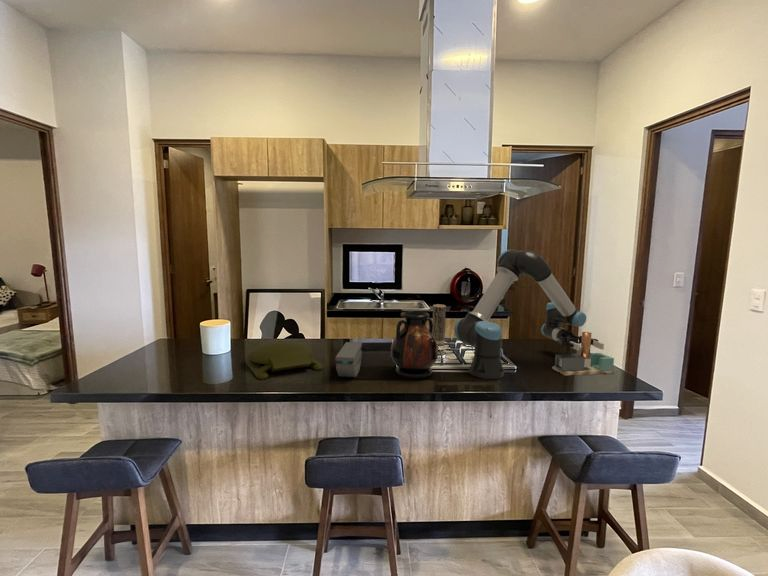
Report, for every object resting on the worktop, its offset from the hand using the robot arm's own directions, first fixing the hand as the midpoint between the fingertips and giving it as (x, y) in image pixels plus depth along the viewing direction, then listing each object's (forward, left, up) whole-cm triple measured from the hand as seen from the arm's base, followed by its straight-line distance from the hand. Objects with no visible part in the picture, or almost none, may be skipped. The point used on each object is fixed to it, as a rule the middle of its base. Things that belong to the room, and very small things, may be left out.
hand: (591, 347), depth 189 cm
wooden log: (-58, +48, -13) cm, 76 cm away
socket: (+9, +4, -11) cm, 15 cm away
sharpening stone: (-110, +16, -13) cm, 112 cm away
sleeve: (-8, +4, -11) cm, 14 cm away
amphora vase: (-81, +11, -13) cm, 83 cm away
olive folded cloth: (-142, +32, -13) cm, 146 cm away
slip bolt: (-5, +4, -10) cm, 12 cm away
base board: (-1, +4, -12) cm, 13 cm away
